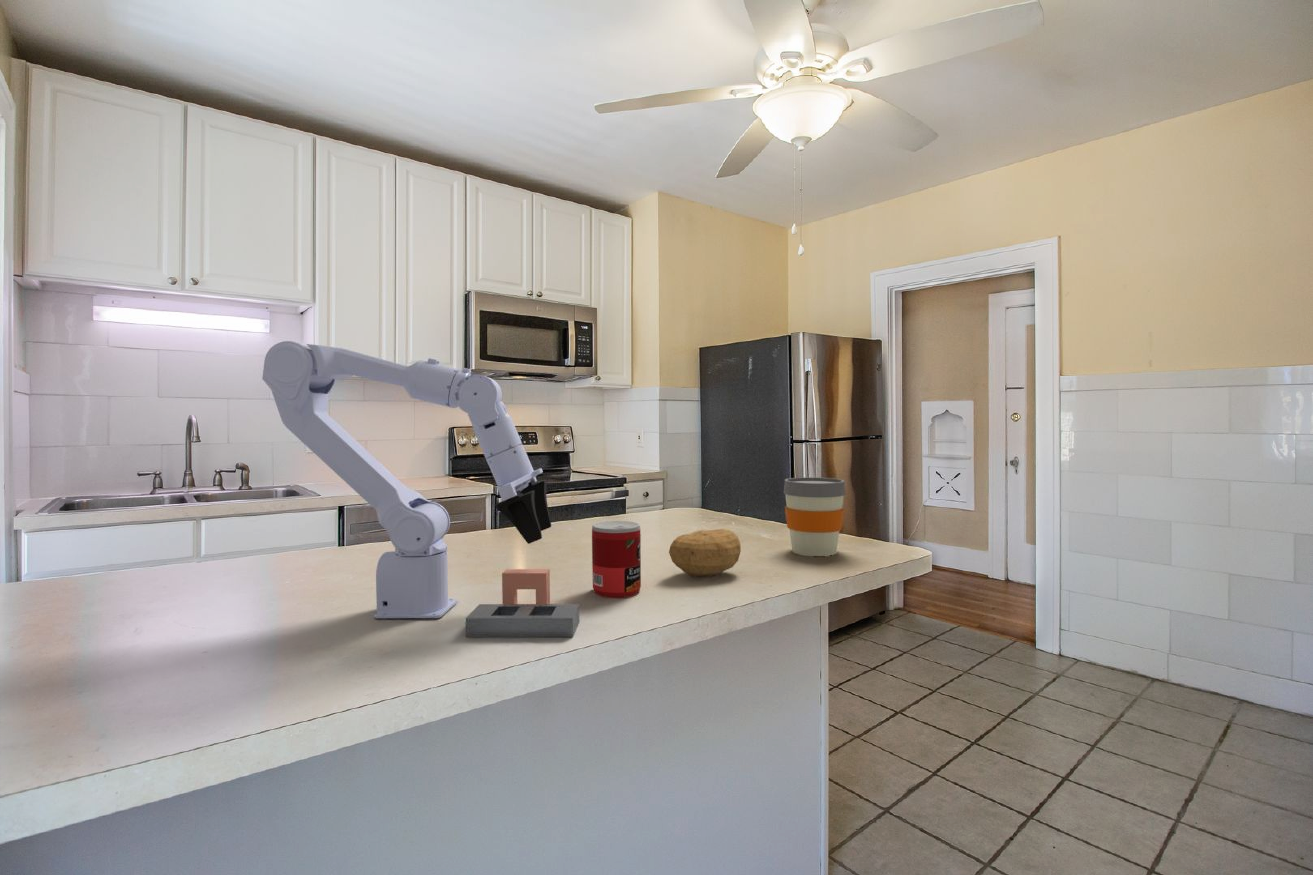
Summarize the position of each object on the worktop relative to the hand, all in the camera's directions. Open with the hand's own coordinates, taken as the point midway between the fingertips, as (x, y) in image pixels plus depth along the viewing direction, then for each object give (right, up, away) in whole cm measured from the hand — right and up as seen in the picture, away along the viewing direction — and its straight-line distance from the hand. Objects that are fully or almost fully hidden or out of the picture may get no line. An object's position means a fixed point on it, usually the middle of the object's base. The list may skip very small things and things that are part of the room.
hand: (540, 534), depth 93 cm
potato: (+26, -10, +18) cm, 33 cm away
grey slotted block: (0, -11, -9) cm, 15 cm away
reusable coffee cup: (+50, -10, +37) cm, 63 cm away
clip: (-2, -11, +1) cm, 11 cm away
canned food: (+11, -11, +8) cm, 18 cm away
